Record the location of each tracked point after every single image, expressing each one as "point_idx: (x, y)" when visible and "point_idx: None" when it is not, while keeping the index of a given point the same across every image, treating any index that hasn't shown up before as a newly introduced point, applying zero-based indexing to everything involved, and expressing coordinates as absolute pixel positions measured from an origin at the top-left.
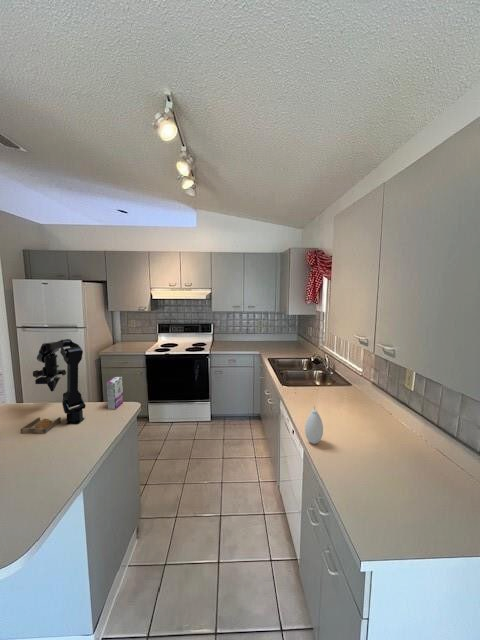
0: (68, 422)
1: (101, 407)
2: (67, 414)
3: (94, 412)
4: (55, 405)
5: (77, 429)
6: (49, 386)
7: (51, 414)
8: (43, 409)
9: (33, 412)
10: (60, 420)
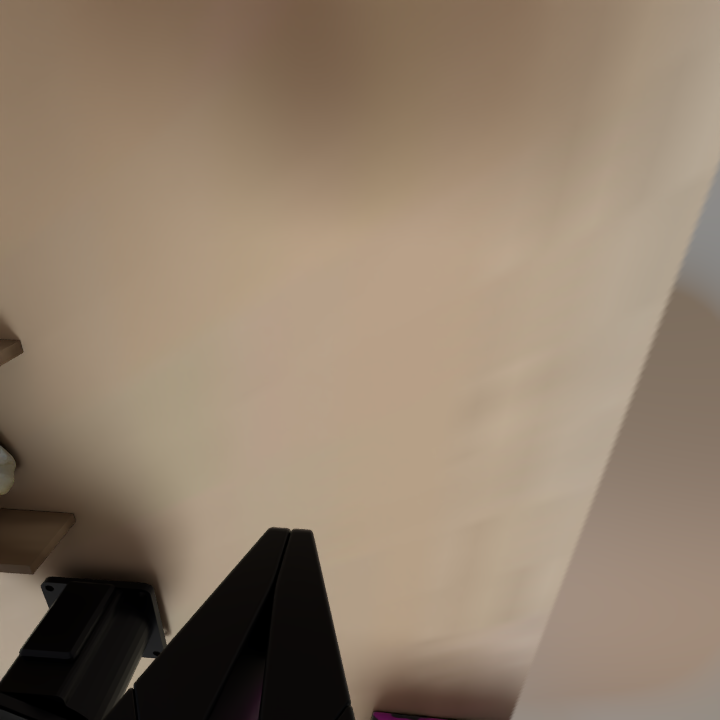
0: (56, 595)
1: (419, 669)
2: (18, 656)
3: None
4: (587, 219)
5: (22, 644)
6: (138, 711)
7: (265, 336)
8: (447, 114)
9: (334, 9)
10: (48, 547)
